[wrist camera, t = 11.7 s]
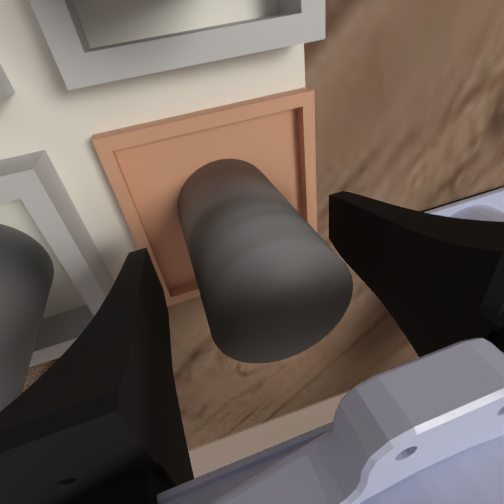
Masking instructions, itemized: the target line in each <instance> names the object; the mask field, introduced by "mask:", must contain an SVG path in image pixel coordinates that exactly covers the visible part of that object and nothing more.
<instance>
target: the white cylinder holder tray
mask: <svg viewBox="0 0 504 504" xmlns="http://www.w3.org/2000/svg"><path fill="white" fill-rule="evenodd" d="M322 39H325V0H0V412H1V411H2V410H3V409H4V408H5V407H7V406H8V405H9V404H10V403H11V402H13V401H14V400H15V399H16V398H17V397H18V396H20V395H21V394H22V390H23V387H24V383H25V379H26V376H27V372H28V368H29V367H32V366H35V365H39V364H42V363H45V362H48V361H51V360H54V359H57V358H60V357H61V356H62V355H63V354H64V353H65V352H66V350H67V349H68V348H69V347H70V346H71V345H72V344H73V342H74V341H75V340H76V339H77V338H78V337H79V336H80V334H81V333H82V332H83V331H84V329H85V328H86V327H87V325H88V324H89V323H90V321H91V320H92V319H93V317H94V316H95V314H96V313H97V311H98V310H99V308H100V307H101V305H102V303H103V302H104V300H105V298H106V297H107V295H108V293H109V292H110V290H111V288H112V286H113V284H114V282H115V280H116V278H117V276H118V274H119V272H120V270H121V268H122V266H123V264H124V262H125V259H126V257H127V255H128V254H129V252H133V251H136V250H140V249H143V248H147V251H148V253H149V256H150V258H151V260H152V263H153V265H154V268H155V270H156V273H157V275H158V277H159V280H160V282H161V285H162V287H163V290H164V295H165V299H166V304H167V307H168V306H171V305H174V304H177V303H181V302H184V301H187V300H190V299H193V298H196V297H199V296H201V295H200V292H199V288H198V285H197V281H196V277H195V274H194V270H193V267H192V263H191V260H190V256H189V252H188V249H187V245H186V242H185V238H184V235H183V231H182V227H181V224H180V220H179V216H178V209H177V206H178V198H179V195H180V192H181V189H182V187H183V185H184V184H185V182H186V181H187V179H188V178H189V177H190V176H191V175H192V174H193V173H194V172H195V171H196V170H198V169H199V168H201V167H202V166H204V165H206V164H208V163H210V162H213V161H216V160H221V159H238V160H243V161H246V162H248V163H250V164H252V165H254V166H255V167H257V168H258V169H259V170H260V171H261V172H262V173H263V174H264V175H265V176H266V177H267V178H268V179H269V181H270V182H271V183H272V184H273V185H274V186H275V187H276V188H277V189H278V190H279V192H280V193H281V194H282V195H283V196H284V197H285V198H286V199H287V200H288V201H289V203H290V204H291V205H292V206H293V207H294V208H295V209H296V210H297V211H298V212H299V214H300V215H301V216H302V217H303V218H304V219H305V220H306V221H307V222H308V223H309V225H310V226H311V227H312V228H313V229H314V230H315V231H316V232H317V202H316V154H315V106H314V90H312V89H310V88H307V87H305V65H304V43H307V42H312V41H317V40H322Z"/></svg>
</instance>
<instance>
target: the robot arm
mask: <svg viewBox="0 0 504 504" xmlns="http://www.w3.org/2000/svg"><path fill="white" fill-rule="evenodd" d="M329 239H330V241H331V242H332V244H333V245H334V247H335V248H336V250H337V251H338V253H339V254H340V256H341V257H342V258H343V259H344V260H345V261H346V263H347V264H348V265H349V266H350V267H351V268H352V269H353V270H354V271H355V273H356V274H357V275H358V276H359V277H360V278H361V279H362V280H363V281H364V282H365V283H366V285H367V286H368V287H369V288H370V289H371V290H372V291H373V292H374V293H375V294H376V296H377V297H378V298H379V299H380V300H381V302H382V303H383V304H384V306H385V307H386V308H387V310H388V311H389V313H390V314H391V315H392V317H393V318H394V319H395V321H396V322H397V324H398V325H399V327H400V328H401V330H402V331H403V333H404V334H405V336H406V337H407V339H408V340H409V342H410V343H411V345H412V346H413V348H414V350H415V351H416V353H417V354H418V356H419V358H417V359H414V360H412V361H409V362H407V363H404V364H402V365H399V366H397V367H394V368H392V369H389V370H387V371H384V372H381V373H379V374H376V375H374V376H372V377H370V378H369V379H367V380H365V381H363V382H361V383H360V384H358V385H356V386H355V387H354V388H353V389H352V390H350V391H349V392H348V393H347V394H346V395H345V396H344V397H343V398H342V399H341V401H340V403H339V405H338V408H337V410H336V412H335V416H334V422H331V423H329V424H326V425H324V426H321V427H319V428H317V429H314V430H312V431H309V432H307V433H304V434H302V435H300V436H297V437H295V438H292V439H290V440H288V441H285V442H283V443H280V444H278V445H275V446H273V447H271V448H268V449H266V450H263V451H261V452H258V453H256V454H253V455H251V456H249V457H246V458H244V459H242V460H239V461H237V462H234V463H232V464H229V465H227V466H224V467H222V468H219V469H217V470H215V471H212V472H210V473H207V474H205V475H203V476H200V477H198V478H195V479H194V476H193V471H192V467H191V462H190V458H189V453H188V448H187V443H186V438H185V434H184V429H183V424H182V419H181V414H180V409H179V403H178V398H177V393H176V387H175V382H174V376H173V369H172V358H171V344H170V330H169V317H168V309H167V304H166V299H165V295H164V290H163V287H162V285H161V282H160V280H159V277H158V275H157V273H156V270H155V268H154V265H153V263H152V260H151V258H150V256H149V253H148V251H147V248H143V249H140V250H136V251H133V252H129V254H128V255H127V257H126V259H125V262H124V264H123V266H122V268H121V270H120V272H119V274H118V276H117V278H116V280H115V282H114V284H113V286H112V288H111V290H110V292H109V293H108V295H107V297H106V298H105V300H104V302H103V303H102V305H101V307H100V308H99V310H98V311H97V313H96V314H95V316H94V317H93V319H92V320H91V321H90V323H89V324H88V325H87V327H86V328H85V329H84V331H83V332H82V333H81V334H80V336H79V337H78V338H77V339H76V340H75V341H74V342H73V344H72V345H71V346H70V347H69V348H68V349H67V350H66V352H65V353H64V354H63V355H62V356H61V357H60V358H59V359H58V360H57V361H56V362H55V363H54V364H53V365H52V366H51V367H50V368H49V369H48V370H47V371H46V372H45V373H44V374H43V375H42V376H41V377H40V378H39V379H38V380H37V381H36V382H35V383H33V384H32V385H31V386H30V387H29V388H28V389H27V390H26V391H24V392H23V393H22V394H21V395H20V396H18V397H17V398H16V399H15V400H14V401H13V402H11V403H10V404H9V405H8V406H7V407H5V408H4V409H3V410H2V411H1V412H0V504H504V187H503V188H500V189H496V190H493V191H490V192H487V193H484V194H480V195H477V196H474V197H471V198H468V199H464V200H461V201H458V202H455V203H452V204H448V205H445V206H442V207H439V208H436V209H432V210H429V211H426V212H419V211H415V210H411V209H407V208H403V207H399V206H395V205H392V204H388V203H385V202H381V201H378V200H375V199H371V198H368V197H364V196H361V195H357V194H354V193H350V192H344V191H342V192H339V193H335V194H332V195H329Z"/></svg>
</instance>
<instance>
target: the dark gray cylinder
mask: <svg viewBox="0 0 504 504" xmlns="http://www.w3.org/2000/svg"><path fill="white" fill-rule="evenodd" d="M177 209H178V216H179V220H180V224H181V227H182V231H183V235H184V238H185V242H186V245H187V249H188V252H189V256H190V260H191V263H192V267H193V270H194V274H195V277H196V281H197V285H198V288H199V292H200V295H201V299H202V302H203V306H204V309H205V313H206V317H207V320H208V324H209V327H210V331H211V334H212V338H213V340H214V342H215V344H216V345H217V347H218V348H219V349H220V350H221V351H222V352H223V353H224V354H226V355H227V356H229V357H231V358H233V359H235V360H238V361H242V362H247V363H268V362H274V361H278V360H283V359H286V358H289V357H291V356H294V355H296V354H299V353H301V352H303V351H305V350H306V349H308V348H310V347H311V346H313V345H314V344H316V343H317V342H319V341H320V340H321V339H323V338H324V337H325V336H326V335H327V334H328V333H329V332H330V331H331V330H332V329H333V328H334V327H335V326H336V325H337V324H338V322H339V321H340V320H341V318H342V317H343V315H344V313H345V312H346V310H347V308H348V305H349V303H350V300H351V297H352V290H353V281H352V276H351V273H350V271H349V269H348V267H347V266H346V264H345V263H344V262H343V261H342V260H341V259H340V258H339V256H338V255H337V254H336V253H335V252H334V251H333V250H332V249H331V248H330V247H329V245H328V244H327V243H326V242H325V241H324V240H323V239H322V238H321V237H320V236H319V234H318V233H317V232H316V231H315V230H314V229H313V228H312V227H311V226H310V225H309V223H308V222H307V221H306V220H305V219H304V218H303V217H302V216H301V215H300V214H299V212H298V211H297V210H296V209H295V208H294V207H293V206H292V205H291V204H290V203H289V201H288V200H287V199H286V198H285V197H284V196H283V195H282V194H281V193H280V192H279V190H278V189H277V188H276V187H275V186H274V185H273V184H272V183H271V182H270V181H269V179H268V178H267V177H266V176H265V175H264V174H263V173H262V172H261V171H260V170H259V169H258V168H257V167H255V166H254V165H252V164H250V163H248V162H246V161H243V160H238V159H221V160H216V161H213V162H210V163H208V164H206V165H204V166H202V167H201V168H199V169H198V170H196V171H195V172H194V173H193V174H192V175H191V176H190V177H189V178H188V179H187V181H186V182H185V184H184V185H183V187H182V189H181V192H180V195H179V198H178V206H177Z"/></svg>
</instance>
